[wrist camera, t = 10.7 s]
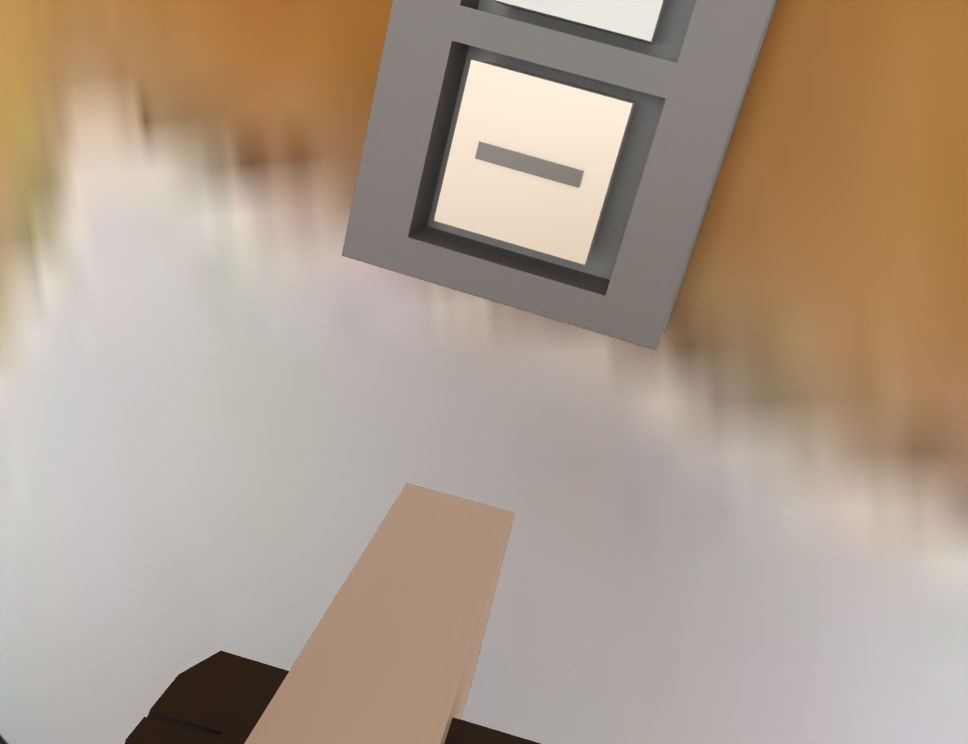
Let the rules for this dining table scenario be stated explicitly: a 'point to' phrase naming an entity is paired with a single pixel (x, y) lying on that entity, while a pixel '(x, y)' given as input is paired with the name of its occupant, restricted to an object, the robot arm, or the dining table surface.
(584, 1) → the key
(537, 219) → the key
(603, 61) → the key board
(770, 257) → the dining table surface
